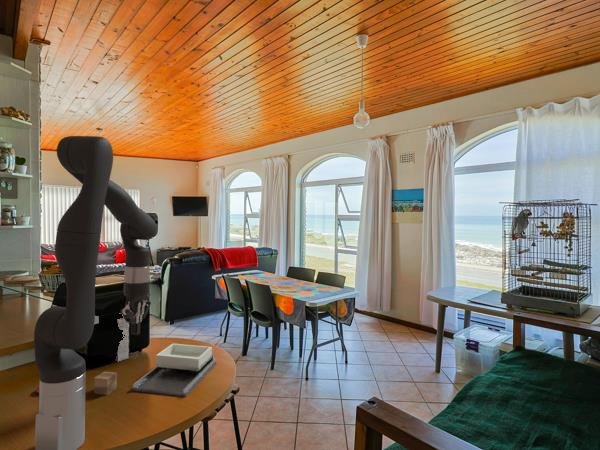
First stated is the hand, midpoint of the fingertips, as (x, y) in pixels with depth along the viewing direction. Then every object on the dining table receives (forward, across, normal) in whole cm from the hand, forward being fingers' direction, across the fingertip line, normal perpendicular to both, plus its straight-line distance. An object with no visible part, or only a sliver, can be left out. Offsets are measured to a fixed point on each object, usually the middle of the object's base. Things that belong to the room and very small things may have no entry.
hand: (135, 334), depth 117 cm
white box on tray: (+16, +16, -9) cm, 24 cm away
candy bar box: (+17, +20, +22) cm, 34 cm away
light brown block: (+18, -4, +7) cm, 19 cm away
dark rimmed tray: (+17, +11, -9) cm, 22 cm away
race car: (+18, -4, +23) cm, 30 cm away
